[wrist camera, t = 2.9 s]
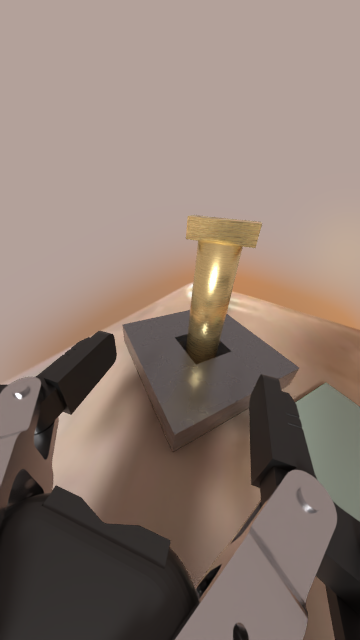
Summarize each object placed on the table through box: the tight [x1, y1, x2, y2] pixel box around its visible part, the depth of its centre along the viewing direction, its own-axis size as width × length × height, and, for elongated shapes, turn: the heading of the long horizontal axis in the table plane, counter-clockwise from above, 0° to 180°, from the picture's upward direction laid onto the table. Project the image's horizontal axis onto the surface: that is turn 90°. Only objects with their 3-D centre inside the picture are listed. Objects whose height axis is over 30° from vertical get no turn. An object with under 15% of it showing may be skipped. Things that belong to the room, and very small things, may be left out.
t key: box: [186, 215, 262, 364], centre depth 20 cm, size 6×4×17 cm, turn 73°
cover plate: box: [123, 310, 299, 452], centre depth 24 cm, size 16×16×3 cm
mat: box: [295, 383, 360, 521], centre depth 16 cm, size 12×12×1 cm
